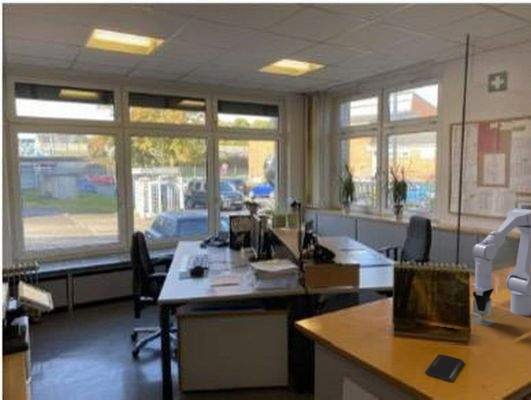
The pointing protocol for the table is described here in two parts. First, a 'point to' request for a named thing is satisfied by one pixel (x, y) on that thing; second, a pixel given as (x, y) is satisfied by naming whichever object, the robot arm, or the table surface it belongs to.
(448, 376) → the phone
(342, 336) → the table surface
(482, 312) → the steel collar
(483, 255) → the robot arm
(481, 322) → the hub plate
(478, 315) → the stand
